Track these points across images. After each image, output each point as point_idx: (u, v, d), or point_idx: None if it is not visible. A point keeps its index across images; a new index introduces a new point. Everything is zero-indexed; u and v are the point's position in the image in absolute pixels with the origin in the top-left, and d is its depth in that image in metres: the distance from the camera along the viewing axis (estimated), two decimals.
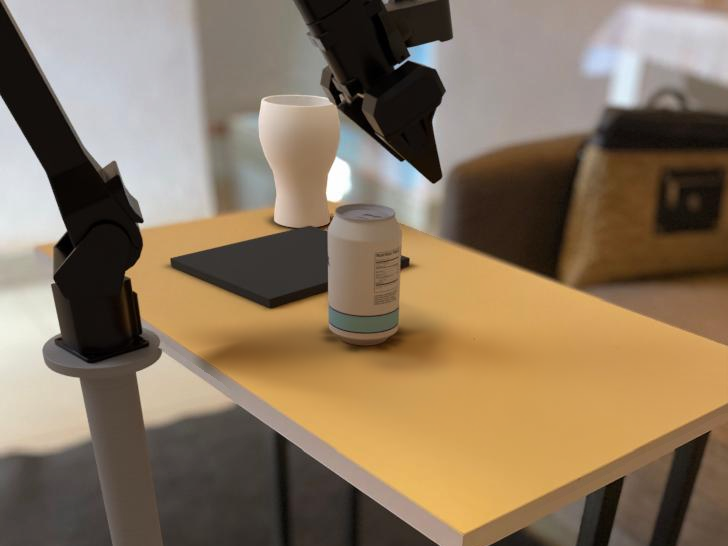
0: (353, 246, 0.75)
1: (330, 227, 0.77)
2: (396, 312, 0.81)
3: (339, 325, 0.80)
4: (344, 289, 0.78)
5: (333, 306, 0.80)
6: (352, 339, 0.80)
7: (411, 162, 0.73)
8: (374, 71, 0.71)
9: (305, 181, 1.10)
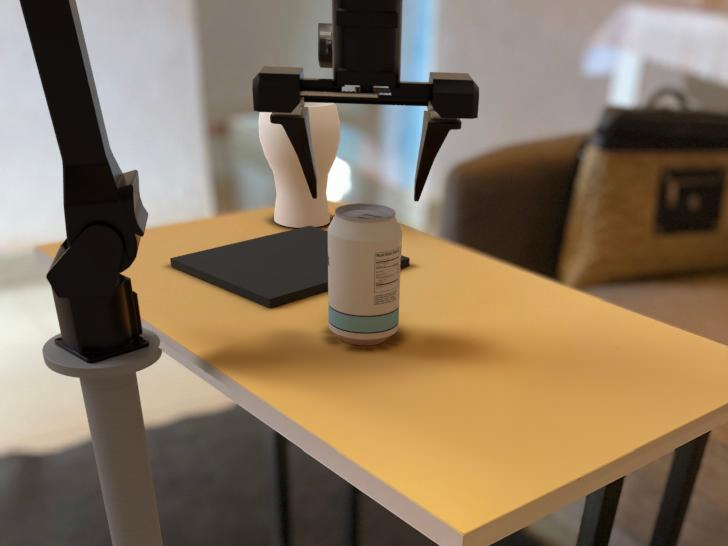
0: (353, 246, 0.75)
1: (330, 227, 0.77)
2: (396, 312, 0.81)
3: (339, 325, 0.80)
4: (344, 289, 0.78)
5: (333, 306, 0.80)
6: (352, 339, 0.80)
7: None
8: (400, 72, 0.70)
9: (305, 181, 1.10)
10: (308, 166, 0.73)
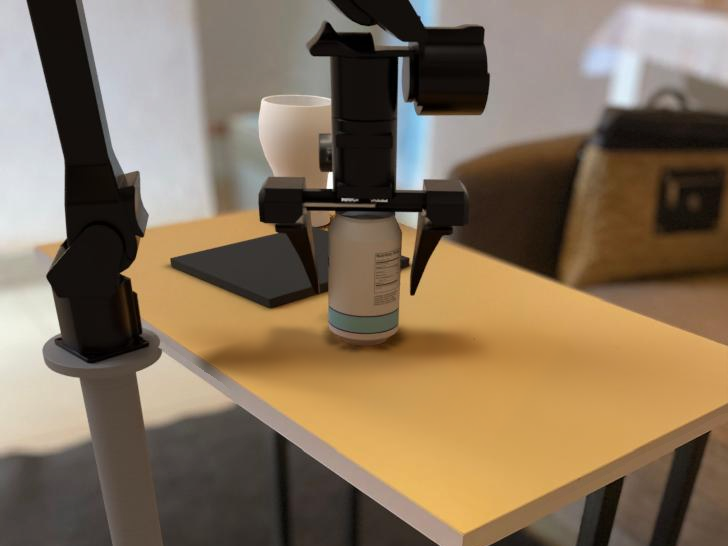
0: (353, 246, 0.75)
1: (330, 227, 0.77)
2: (396, 312, 0.81)
3: (339, 325, 0.80)
4: (344, 289, 0.78)
5: (333, 307, 0.80)
6: (352, 339, 0.80)
7: (425, 266, 0.78)
8: None
9: None
10: (311, 268, 0.78)
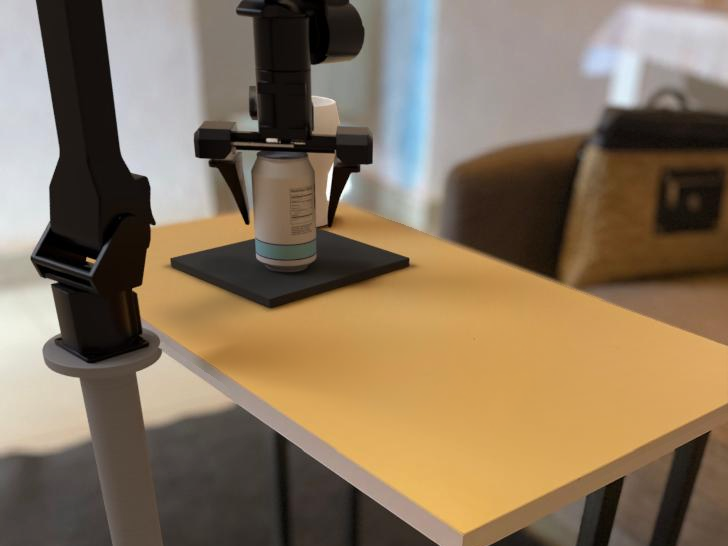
0: (271, 182, 0.89)
1: (253, 167, 0.90)
2: (312, 243, 0.95)
3: (263, 253, 0.94)
4: (265, 221, 0.92)
5: (258, 237, 0.94)
6: (274, 265, 0.94)
7: (338, 201, 0.92)
8: (311, 127, 0.89)
9: None
10: (240, 200, 0.92)
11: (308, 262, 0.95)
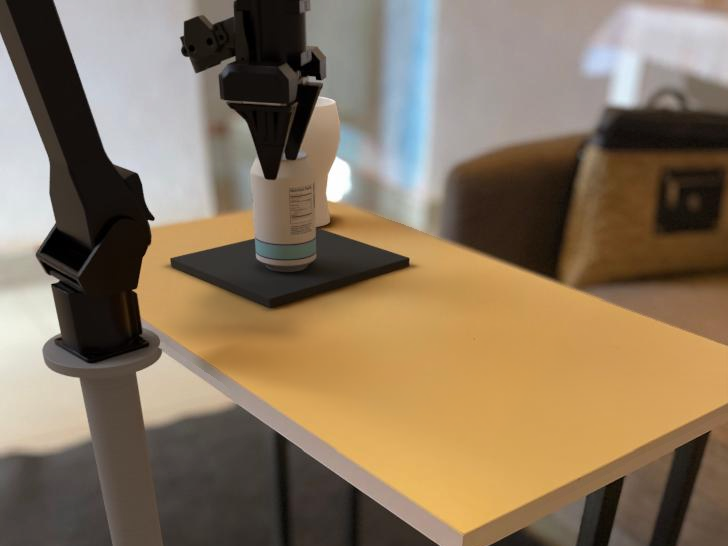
0: (270, 182, 0.89)
1: (252, 167, 0.90)
2: (312, 242, 0.95)
3: (263, 253, 0.94)
4: (265, 221, 0.92)
5: (257, 237, 0.94)
6: (274, 265, 0.94)
7: (306, 125, 0.87)
8: None
9: None
10: (284, 148, 0.79)
11: (308, 262, 0.95)
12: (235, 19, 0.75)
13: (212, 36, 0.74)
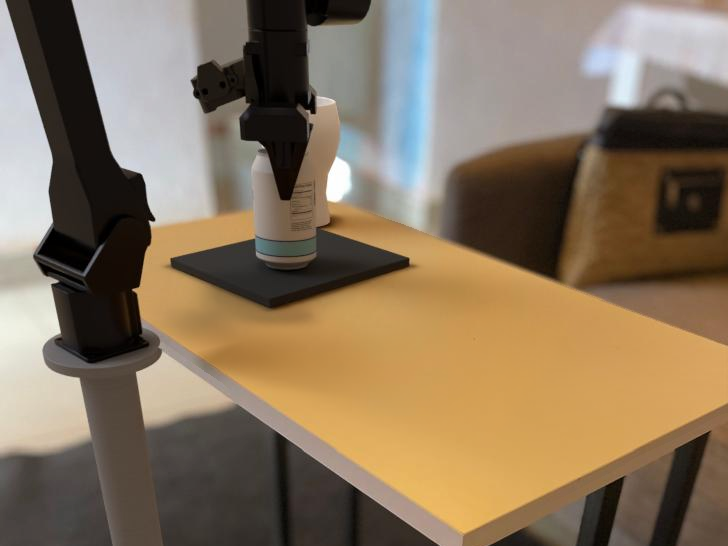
0: (271, 178, 0.89)
1: (253, 164, 0.91)
2: (312, 240, 0.95)
3: (263, 250, 0.94)
4: (265, 217, 0.92)
5: (258, 234, 0.94)
6: (274, 262, 0.94)
7: None
8: None
9: None
10: None
11: (308, 259, 0.95)
12: (245, 63, 0.79)
13: (225, 79, 0.79)
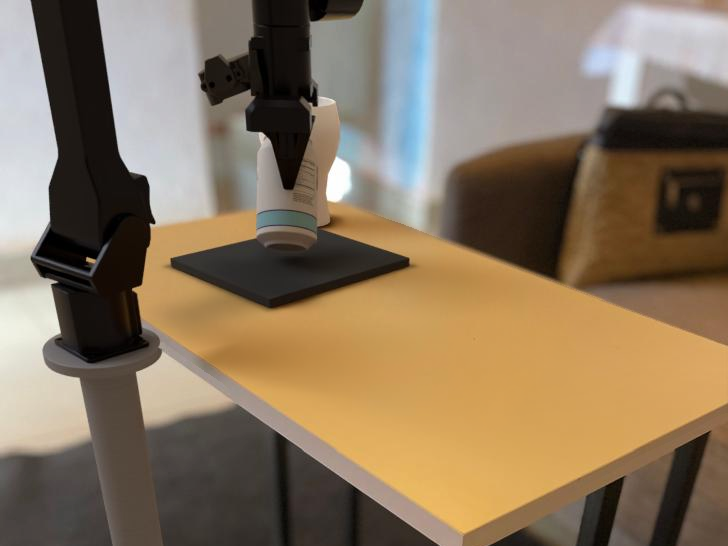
0: None
1: (259, 150, 0.95)
2: (313, 219, 0.95)
3: (264, 223, 0.94)
4: (268, 189, 0.93)
5: (259, 210, 0.94)
6: (274, 232, 0.93)
7: None
8: None
9: None
10: (301, 162, 0.91)
11: (308, 234, 0.95)
12: (250, 57, 0.83)
13: (231, 73, 0.82)
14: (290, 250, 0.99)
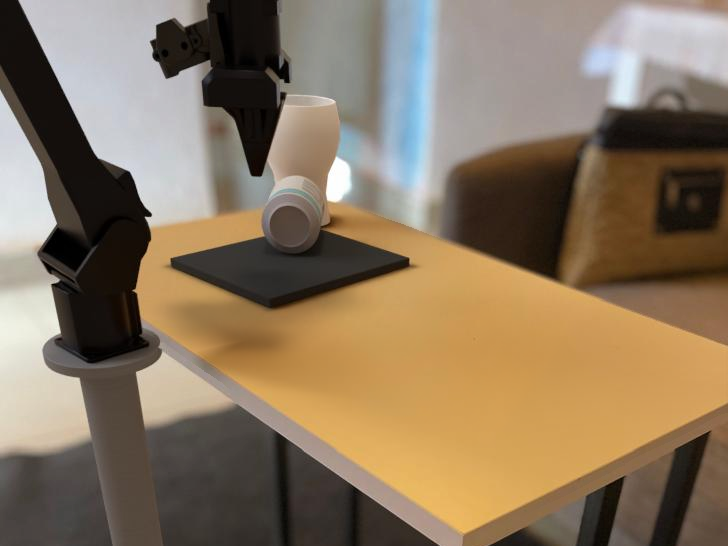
0: (289, 176, 1.04)
1: None
2: (319, 210, 1.00)
3: (272, 197, 0.98)
4: (279, 187, 1.01)
5: (268, 199, 1.00)
6: (281, 195, 0.97)
7: None
8: None
9: None
10: (271, 144, 0.80)
11: (313, 207, 0.98)
12: (209, 22, 0.72)
13: (187, 40, 0.71)
14: (292, 243, 1.00)
